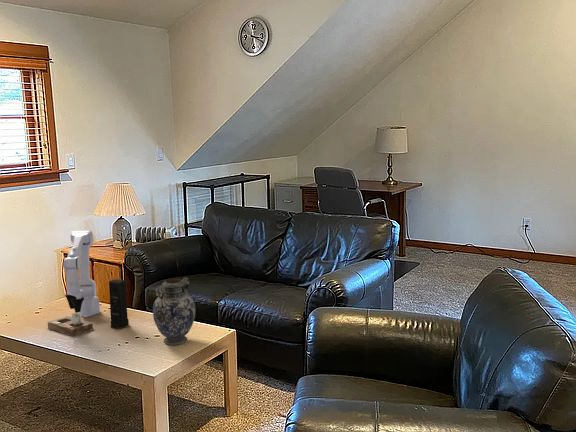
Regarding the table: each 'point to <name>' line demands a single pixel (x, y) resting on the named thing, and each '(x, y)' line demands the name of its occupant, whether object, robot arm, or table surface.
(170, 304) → the decorative vase
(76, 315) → the steel peg
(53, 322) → the socket board
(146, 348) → the table surface
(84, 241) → the robot arm
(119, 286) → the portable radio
